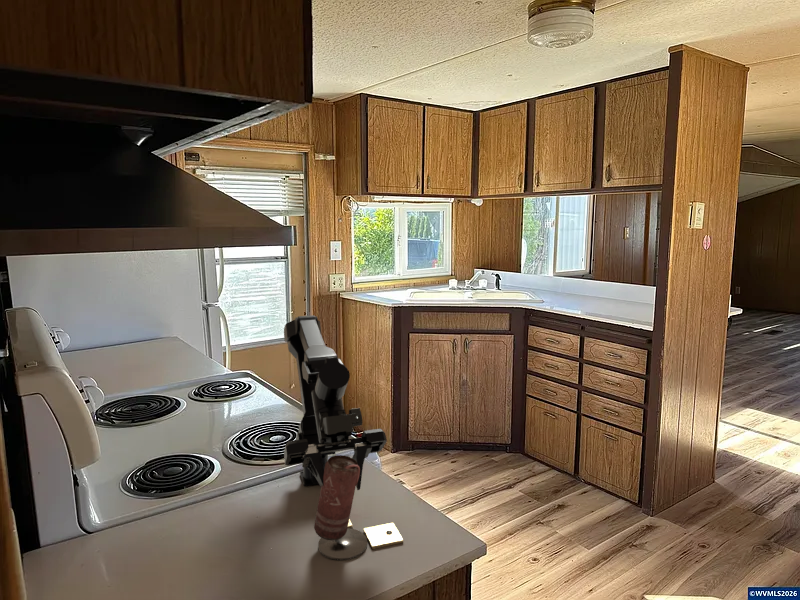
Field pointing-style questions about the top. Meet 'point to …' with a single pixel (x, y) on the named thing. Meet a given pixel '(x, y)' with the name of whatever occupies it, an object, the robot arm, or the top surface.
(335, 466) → the can
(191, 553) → the top surface
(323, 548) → the flat squares and disc
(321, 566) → the top surface
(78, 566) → the top surface
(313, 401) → the robot arm
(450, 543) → the top surface
